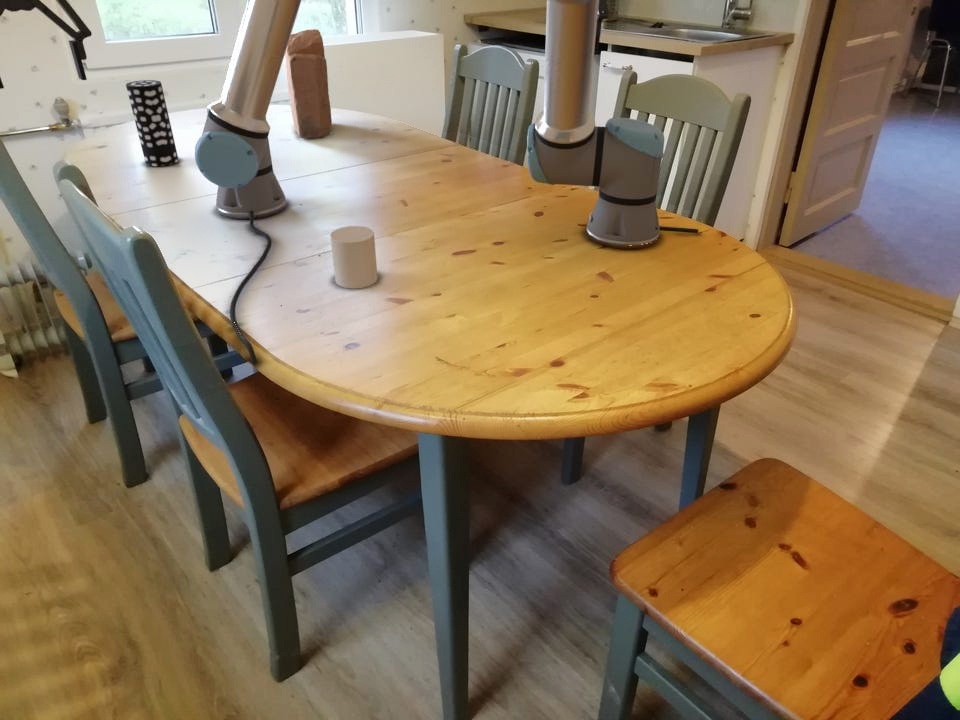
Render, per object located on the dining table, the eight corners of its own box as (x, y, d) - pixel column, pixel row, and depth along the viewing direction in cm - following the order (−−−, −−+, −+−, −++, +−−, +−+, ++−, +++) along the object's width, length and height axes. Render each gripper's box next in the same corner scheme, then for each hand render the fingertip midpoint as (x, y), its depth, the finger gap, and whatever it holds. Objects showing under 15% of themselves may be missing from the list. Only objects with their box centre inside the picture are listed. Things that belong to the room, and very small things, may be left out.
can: (358, 292, 123) (353, 245, 118) (326, 281, 127) (321, 235, 122) (386, 277, 129) (382, 231, 124) (355, 266, 132) (350, 222, 127)
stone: (337, 137, 208) (326, 34, 194) (299, 140, 205) (285, 36, 191) (327, 123, 225) (317, 28, 211) (292, 125, 222) (279, 29, 208)
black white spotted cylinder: (184, 157, 190) (167, 80, 179) (169, 166, 183) (151, 87, 172) (155, 156, 190) (136, 79, 179) (139, 165, 183) (119, 86, 172)
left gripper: (-87, -50, 106) (-34, 94, 118) (87, -51, 120) (120, 78, 131) (-92, -52, 111) (-41, 87, 122) (76, -53, 124) (109, 72, 136)
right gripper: (543, -62, 155) (537, 41, 166) (600, -58, 135) (590, 58, 147) (572, -62, 157) (565, 40, 169) (633, -58, 138) (620, 56, 149)
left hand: (42, 83), depth 127 cm, fingers open, 13 cm apart
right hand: (576, 49), depth 158 cm, fingers open, 13 cm apart
